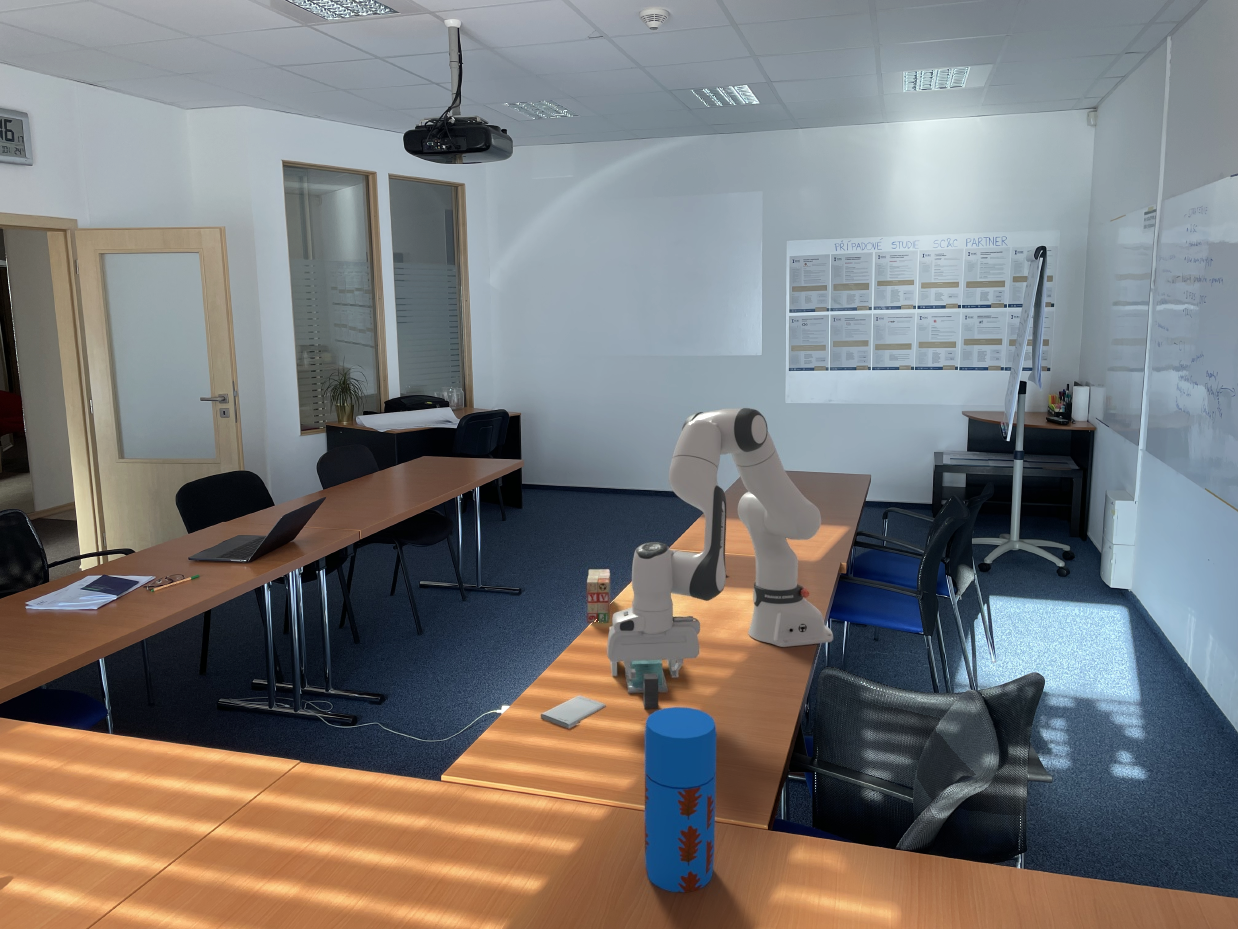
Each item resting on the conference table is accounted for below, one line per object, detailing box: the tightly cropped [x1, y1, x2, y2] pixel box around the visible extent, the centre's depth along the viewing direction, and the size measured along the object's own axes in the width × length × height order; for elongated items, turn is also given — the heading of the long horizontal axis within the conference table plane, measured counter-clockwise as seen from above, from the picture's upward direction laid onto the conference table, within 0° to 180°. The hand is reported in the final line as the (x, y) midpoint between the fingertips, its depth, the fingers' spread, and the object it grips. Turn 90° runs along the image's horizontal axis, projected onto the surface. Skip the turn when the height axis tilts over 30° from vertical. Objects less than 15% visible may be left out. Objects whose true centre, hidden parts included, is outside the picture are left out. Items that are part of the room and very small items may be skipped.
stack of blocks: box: [586, 568, 611, 624], centre depth 259 cm, size 21×6×12 cm, turn 179°
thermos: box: [644, 706, 717, 893], centre depth 137 cm, size 11×11×25 cm
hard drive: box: [540, 695, 606, 729], centre depth 194 cm, size 2×8×12 cm
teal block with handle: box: [624, 660, 668, 710], centre depth 204 cm, size 9×20×7 cm, turn 3°
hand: (653, 677), depth 195 cm, fingers open, 8 cm apart
